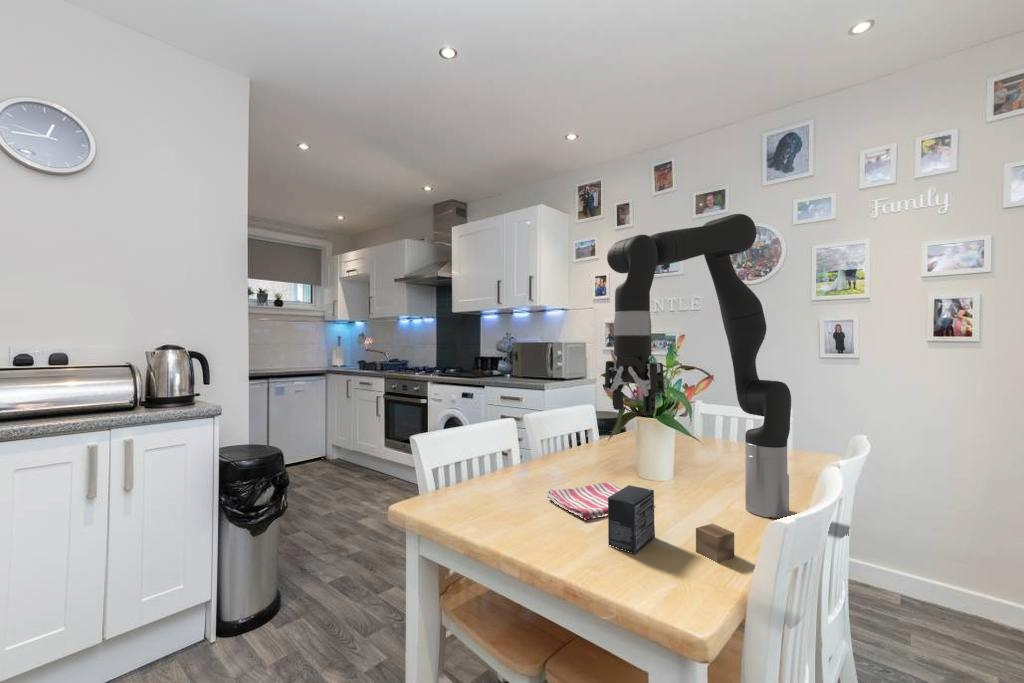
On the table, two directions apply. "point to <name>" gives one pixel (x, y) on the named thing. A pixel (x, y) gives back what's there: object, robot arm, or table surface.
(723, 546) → the walnut block
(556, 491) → the dish towel
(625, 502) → the small box
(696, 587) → the table surface
